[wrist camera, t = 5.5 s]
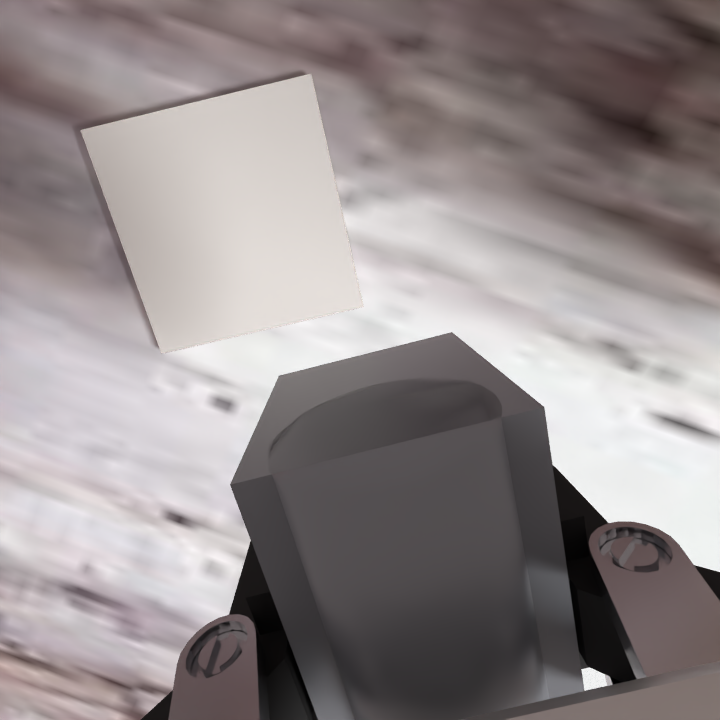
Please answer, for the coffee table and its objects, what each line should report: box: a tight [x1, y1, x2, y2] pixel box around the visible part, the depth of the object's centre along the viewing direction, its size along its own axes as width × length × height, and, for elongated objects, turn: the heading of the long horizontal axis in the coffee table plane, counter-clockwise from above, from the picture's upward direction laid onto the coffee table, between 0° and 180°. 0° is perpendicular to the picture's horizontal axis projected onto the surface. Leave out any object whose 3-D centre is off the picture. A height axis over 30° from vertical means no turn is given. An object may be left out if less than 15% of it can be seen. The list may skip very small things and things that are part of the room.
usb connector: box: [230, 332, 584, 720], centre depth 9 cm, size 4×10×6 cm, turn 14°
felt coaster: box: [80, 74, 364, 354], centre depth 24 cm, size 12×12×1 cm
